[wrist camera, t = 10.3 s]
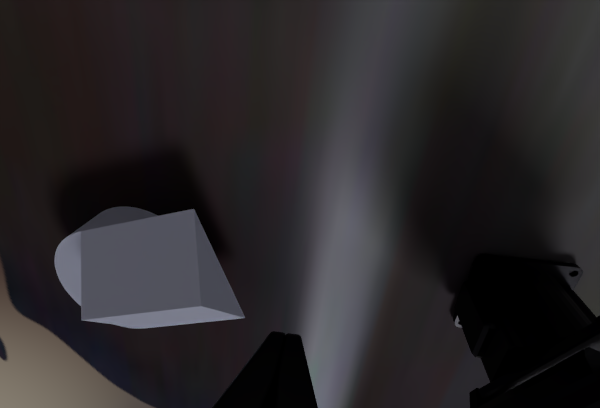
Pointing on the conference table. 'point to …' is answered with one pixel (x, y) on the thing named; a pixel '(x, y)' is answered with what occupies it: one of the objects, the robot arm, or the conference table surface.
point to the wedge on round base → (145, 270)
